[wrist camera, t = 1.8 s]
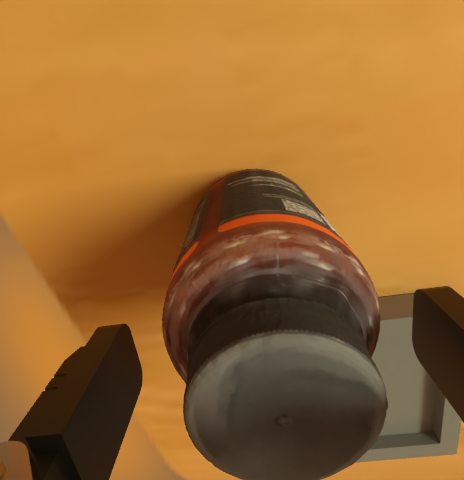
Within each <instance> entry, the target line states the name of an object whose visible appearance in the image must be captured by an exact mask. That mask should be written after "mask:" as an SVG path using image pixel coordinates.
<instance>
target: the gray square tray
mask: <svg viewBox="0 0 464 480" xmlns="http://www.w3.org/2000/svg"><path fill="white" fill-rule="evenodd" d="M413 298H414V293H412V294H403V295H394V296H386V297H378V300H379V304H380V319H381V321H380V332H379V338H378V342H377V344H376V348H375V351H374V353H373V355H372V357H371V358H372V360H373V362H374V363H375V365H376V366H377V368H378V370H379V372H380V375H381V377H382V379H383V382H384V385H385V388H386V396H387V401H388V409H387V410H386V418H385V421H384V425H383V428H382V430H381V432H380V435H379V436H378V438H377V441H376V442H375V443H374V444H373V445H372V447H371V448H370V449H369V450H368V451H367V452H366V453H365V454H364V455H363V456H362V457H361V458H360V459H358V460H357V461H356V462H367V461H379V460H391V459H403V458H415V457H428V456H440V455H452V454H457V447H458V440H459V433H460V426H461V418H460V417H459V415H458V414H457V413H456V411H455V410H454V409H453V407H452V406H451V404H450V403H449V402H448V400H447V399H446V398H445V396H444V395H443V393H442V392H441V391H440V389H439V388H438V387H437V385H436V384H435V383H434V381H433V380H432V378H431V377H430V376H429V374H428V373H427V372H426V370H425V369H424V367H423V366H422V365H421V363H420V362H419V360H418V359H417V357H416V354H415V352H414V348H413V344H412V321H413Z"/></svg>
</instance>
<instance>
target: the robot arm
mask: <svg viewBox="0 0 464 480" xmlns="http://www.w3.org/2000/svg"><path fill="white" fill-rule="evenodd" d="M412 344H413V348H414V352H415V354H416V357H417V359H418V360H419V362H420V363H421V365H422V366H423V367H424V369H425V370H426V372H427V373H428V374H429V376H430V377H431V378H432V380H433V381H434V383H435V384H436V385H437V387H438V388H439V389H440V391H441V392H442V393H443V395H444V396H445V398H446V399H447V400H448V402H449V403H450V404H451V406H452V407H453V409H454V410H455V411H456V413H457V414H458V415H459V417H460V418H461V419H462V421H463V422H464V298H463V297H462V296H460V295H459V294H458V293H457V292H456V291H454V290H453V289H452V288H450V287H448V286H444V287H435V288H427V289H419V290H416V291H415V293H414V298H413V321H412ZM141 387H142V368H141V364H140V361H139V357H138V354H137V351H136V347H135V344H134V341H133V337H132V334H131V331H130V328H129V327H128V325H127V324H119V325H111V326H102V327H98V328H97V329H96V331H95V332H94V334H93V335H92V337H91V338H90V340H89V341H88V343H87V344H86V346H84V347H80V348H79V349H78V350H77V351H75V352H74V353H73V354H72V355H71V356H69V357H68V358H67V359H66V360H65V361H64V362H63V364H62V366H61V367H60V368H59V369H58V371H57V372H56V374H55V375H54V378H53V379H51V381H50V382H49V383H48V385H47V386H46V388H45V391H43V392H42V394H41V395H40V396H39V398H38V399H37V400H36V402H35V403H34V405H33V406H32V407H31V409H30V411H29V412H28V413H27V415H26V416H25V417H24V419H23V420H22V422H21V423H20V425H19V426H18V427H17V429H16V430H15V432H14V433H13V434H12V436H11V437H10V439H9V440H8V441H6V442H3V443H0V480H109V478H110V475H111V472H112V469H113V466H114V464H115V460H116V458H117V455H118V453H119V450H120V447H121V444H122V441H123V438H124V436H125V433H126V430H127V427H128V424H129V422H130V419H131V416H132V413H133V410H134V408H135V405H136V402H137V399H138V396H139V394H140V391H141Z"/></svg>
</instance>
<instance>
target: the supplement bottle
mask: <svg viewBox="0 0 464 480" xmlns="http://www.w3.org/2000/svg"><path fill="white" fill-rule="evenodd" d="M162 321H163V323H162V327H163V337H164V341H165V346H166V348H167V352H168V354H169V356H170V359H171V361H172V363H173V365H174V367H175V369H176V371H177V372H178V374H179V375H180V376H181V378H182V379H183V380H184V381H185V383H186V389H185V394H184V406H183V413H184V421H185V425H186V429H187V431H188V434H189V437H190V438H191V440H192V442H193V444H194V446H195V447H196V448H197V449H198V450H199V452H200V453H201V454H202V455H203V456H204V457H205V458H206V459H207V460H208V461H210V462H211V463H212V464H213V465H214V466H215V467H217V468H218V469H220V470H222V471H223V472H225V473H228V474H230V475H232V476H235V477H237V478H240V479H243V480H320V479H324V478H326V477H329V476H331V475H333V474H336V473H337V472H339V471H341V470H343V469H345V468H347V467H348V466H350V465H352V464H354V463H355V462H356V461H357V460H358V459H360V458H361V457H362V456H363V455H364V454H365V453H366V452H367V451H368V450H369V449H370V448H371V447H372V445H373V444H374V443H375V442H376V441H377V438H378V436H379V435H380V432H381V430H382V428H383V425H384V421H385V418H386V410H387V409H388V401H387V396H386V388H385V385H384V382H383V379H382V377H381V375H380V372H379V370H378V368H377V366H376V365H375V363H374V362H373V360H372V358H371V357H372V355H373V353H374V351H375V348H376V344H377V342H378V338H379V332H380V321H381V319H380V304H379V300H378V297H377V293H376V290H375V288H374V285H373V283H372V281H371V279H370V277H369V275H368V273H367V271H366V270H365V268H364V266H363V265H362V263H361V262H360V261H359V259H358V258H357V257H356V255H355V254H354V253H353V252H352V250H351V249H350V248H349V246H348V245H347V244H346V242H345V241H344V240H343V239H342V238H341V236H340V235H339V234H338V233H337V231H336V230H335V229H334V228H333V227H332V225H331V224H330V223H329V222H328V221H327V219H326V218H325V217H324V215H323V214H322V213H321V212H320V211H319V209H318V208H317V207H316V206H315V204H314V203H313V202H312V201H311V200H310V198H309V197H308V196H307V195H306V193H305V192H304V191H303V190H302V189H301V188H300V187H299V186H298V185H297V184H296V183H294V182H293V181H291V180H290V179H289V178H287V177H285V176H283V175H281V174H278V173H276V172H273V171H269V170H262V169H246V170H242V171H238V172H235V173H232V174H230V175H228V176H226V177H224V178H222V179H221V180H219V181H218V182H217V183H215V184H214V185H213V186H212V187H210V189H209V190H208V191H207V192H206V193H205V195H204V196H203V198H202V200H201V201H200V203H199V204H198V207H197V209H196V211H195V214H194V217H193V219H192V222H191V225H190V228H189V230H188V233H187V236H186V239H185V241H184V244H183V247H182V250H181V253H180V255H179V258H178V260H177V263H176V266H175V268H174V272H173V276H172V278H171V281H170V284H169V287H168V290H167V293H166V297H165V302H164V308H163V318H162Z"/></svg>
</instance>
